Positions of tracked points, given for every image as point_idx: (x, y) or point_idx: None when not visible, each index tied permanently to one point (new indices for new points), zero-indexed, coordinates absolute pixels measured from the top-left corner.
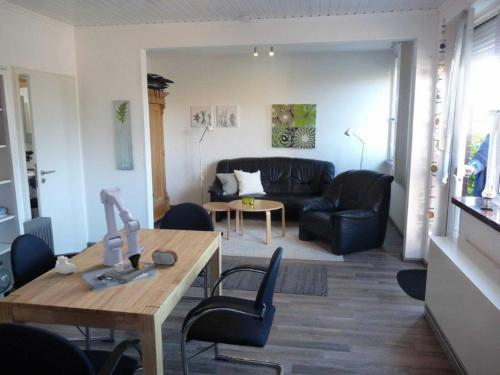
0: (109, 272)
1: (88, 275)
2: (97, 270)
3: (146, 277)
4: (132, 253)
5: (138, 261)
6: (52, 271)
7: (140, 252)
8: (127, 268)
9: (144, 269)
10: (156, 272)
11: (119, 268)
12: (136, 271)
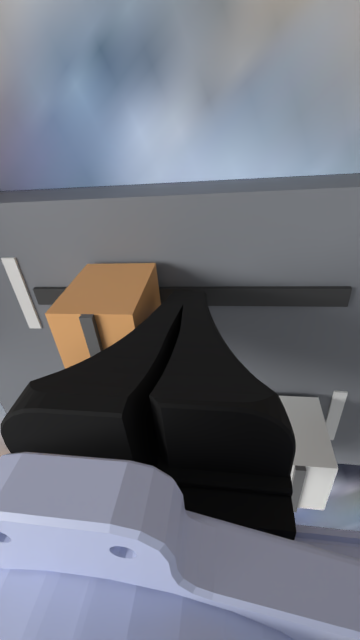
0: (336, 460)
1: (349, 524)
2: None
3: (238, 20)
4: (326, 633)
5: (101, 349)
6: None
7: (10, 476)
8: None
9: (111, 202)
10: (10, 26)
11: (327, 433)
12: (218, 256)
